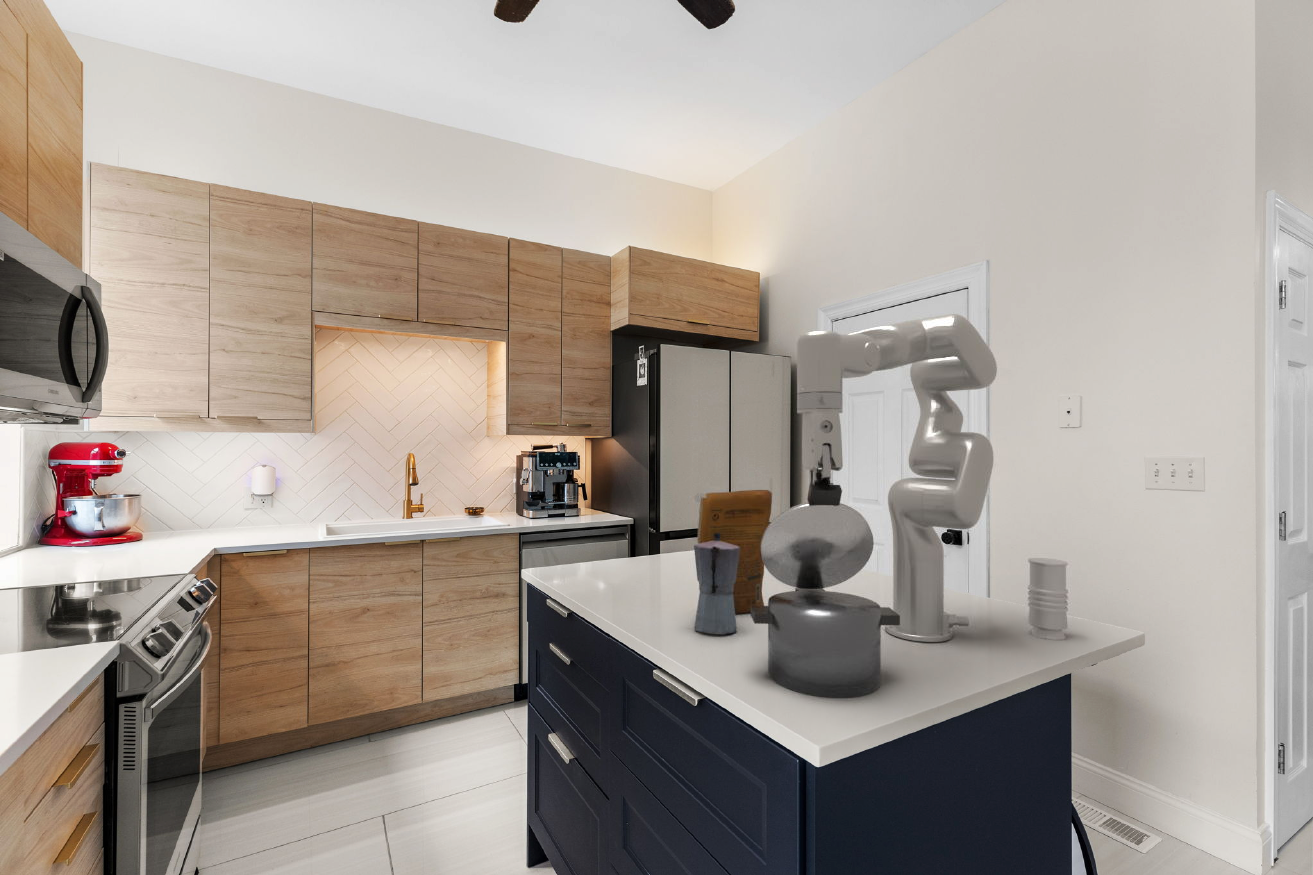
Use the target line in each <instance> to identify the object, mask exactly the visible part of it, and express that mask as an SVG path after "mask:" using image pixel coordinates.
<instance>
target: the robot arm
mask: <svg viewBox="0 0 1313 875" xmlns="http://www.w3.org/2000/svg"><path fill="white" fill-rule="evenodd" d="M907 365H910V369H909V370H910V371H909V375H910V376H909V377H910V381H911V384H912V387H913V390H914V393H915V396H916V399H917V401H918V402H917V403H918V404H919V408H920V410H919V411H920V414H919V419H918V422H917V426H916V430H915V433H914V436H913V440H912V443H911V447H910V450H909V454H908V467H909V469H910V471H911V472H913V474H915V475H918V476H919V477H908V478H907V477H906V478H901V479H899V480H896V482H893V484H892V485H891V487H890V488H889V491H888V494H887V505H888V511H889V516H890V521H891V530H892V557H893V559H892V560H893V561H892V562H893V563H892V564H893V565H892V568H893V570H892V572H893V574H892V575H893V576H892V578H893V581H892V585H893V586H892V587H893V588H892V592H893V593H892V599H893V600H892V602H893V604H892V606H893V607H892V610H893V611H895V612H896V613H897V614H898V615H900V625H884V630H885V631H886V632H887V633H888V634H889V635H890V636H891V635H892V636H894V637H896V638H899V639H904V640H908V641H912V642H913V641H914V642H920V643H921V642H922V643H941V642H946V641H949V640H951V639H952V637H953V631H952V628H953V627H954V626H956V627H957V626H958V627H969V625H970V620H969V617H968V616H963V615H962V616H960V615H958V616H957V614H953V613H952V614H949V613H947V612H946V611H944V610H945V609H944V608H945V606H944V605H945V604H944V603H945V602H944V600H945V599H944V598H945V596H944V595H945V594H944V592H945V590H944V586H945V584H944V583H945V582H944V581H945V580H944V578H945V577H944V576H945V575H944V574H945V573H944V571H945V570H944V566H945V565H944V563H945V562H944V559H945V558H944V556H945V554H944V546H943V542H942V540H941V538H940V537H939V535H938V533H937V532H936V530H935V529H934V527H935V528H945V529H954V530H968V529H971V528H973V527H975V526H976V525H977V524H978V521H980V517H981V516H982V511H983V510H984V504H985V500H986V496H987V492H988V489H989V488H988V487H989V484H990V480H991V476H992V472H993V467H994V451H993V450H994V449H993V446H992V443H991V441H990V440H989V438H988V437H987V436H985V435H984V434H981V433H978V432H971V431H970V432H969V431H967V432H966V431H965V432H964V431H963V432H962V429H963V424H964V415H963V412H962V410H961V409H960V407H959V406H958V404H957V403H956V402H955V401H954V400H953V399H952V398H951V397H950V396H949V394H948V392H953V391H954V392H955V391H956V392H957V391H958V392H959V391H973V390H982V389H985V388H988V387H989V386H991V385H992V384H993V382H994V381H995V379H996V377H997V372H998V367H997V366H998V365H997V361H996V358H995V356H994V353H993V352H992V351H991V349H990V347H989V346H988V344H987V343H986V341H985V340H984V338H983V337H982V335H980V333H979V331H978V330H977V328H976V327H975V326H974V325H973V324H972V323H971V321H969V320H968V319H967V318H966V317H964V316H963V315H961V314H958V313H949V314H944V315H937V316H931V317H925V318H917V319H914V320H913V319H912V320H907V321H901V322H896V323H889V324H885V325H880V326H876V327H871V328H866V329H864V330H860V331H857V332H852V333H848V334H840V333H838V332H836V331H831V330H815V331H808V332H804V333H802V334H801V335H799V337H798V339H797V343H796V380H797V381H796V385H797V386H796V390H797V391H796V393H797V395H796V396H797V398H796V399H797V400H796V406H797V410H796V412H797V414H800V415H801V414H802V431H801V432H802V438H801V440H802V442H801V443H802V444H801V446H802V447H801V449H802V450H801V451H802V452H801V453H802V454H801V456H802V458H801V459H802V465H803V467H804V468H805V469H806V470H808V472H809V473H808V474H809V477H808V478H809V485H831V479H832V471H835V472H836V471H837V472H840V471H841V470H842V469H843V464H844V463H843V443H842V441H843V440H842V427H841V426H842V425H841V418H840V414H842V413H843V411H844V410H843V406H844V405H843V400H844V399H843V379H852V378H861V377H864V376H865V377H866V376H868V375H870V374H872V373H873V372H880V371H887V370H892V369H896V368H897V369H898V368H899V367H903V366H907Z"/></svg>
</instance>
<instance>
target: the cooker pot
mask: <svg viewBox="0 0 1313 875" xmlns="http://www.w3.org/2000/svg"><path fill="white" fill-rule="evenodd" d="M794 589H795V590H792V591H791V590H790V591H784V592H780V593H776V594H773V595H771V596H770V597H769V598H768V600H767V603H768V604H767V605H764V606H751V613H750V617H751V619H752V622H753V623H754V624H757V625H758V624H760V625H764V624H765V625H767V673H768V676H769V678H770V679H771V680H772V681H773V682H774V683H776V684H777V685H779V686H780V687H783V688H785V689H787V690H790V691H792V692H796V693H799V694H804V695H809V696H812V697H820V698H829V699H848V698H851V699H852V698H858V697H863V696H866V695H870V694H872V693H874V692H876V691H878V690H879V688H880V687H881V685H882V681H881V680H882V679H881V678H882V676H881V674H882V672H881V670H882V668H881V667H882V665H881V664H882V663H881V662H882V661H881V660H882V658H881V657H882V655H881V654H882V651H881V648H882V645H881V644H882V642H881V641H882V638H881V637H882V634H881V633H882V632H881V631H882V628H881V627H882V626H885V625H900V615H898V614H897V613H896V612H895V611H893V608H891V607H888V606H886V607H885V606H884V607H882V606H881V605H880V604H878V603H877V602H876V601H873V600H872V599H869V598H866V597H864V596H859V595H855V594H850V593H845V592H837V591H830V590H828V591H827V590H825V588H820V589H802V588H796V587H794Z"/></svg>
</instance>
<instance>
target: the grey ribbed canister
mask: <svg viewBox="0 0 1313 875" xmlns="http://www.w3.org/2000/svg"><path fill="white" fill-rule="evenodd" d="M1027 560H1028V561H1027V562H1028V563H1029V585H1027V590H1028V592H1027V595H1028V597H1027V601H1028V602H1027V606H1028V607H1029V610H1028V622H1027V623H1028V624H1029V625H1030V626H1032V627H1033V628H1032V630H1031V631H1030V634H1031V635H1032V636H1034V637H1037V638H1040V639H1045V638H1046V639H1045V640H1053V641H1057V640H1059V641H1060V640H1061V641H1062V640H1064V638H1065V639H1066V636H1065V634H1064V632H1063V631H1064V630H1067V629H1068V627H1069V626H1068V618H1067V612H1068V611H1069V608H1068V605H1069V602H1068V600H1069V597H1068V593H1069V591H1068V589H1067V566H1068V565H1069V564H1068V562H1067V561H1065V560H1061V559H1055V558H1045V557H1032V558H1028V559H1027Z"/></svg>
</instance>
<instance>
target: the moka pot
mask: <svg viewBox="0 0 1313 875" xmlns="http://www.w3.org/2000/svg"><path fill="white" fill-rule="evenodd" d="M720 536H721V534H720V533H714V539H715V540H714V541H710V542H705V543H700V544H698V543H696V544H694V546H693V549H694V560H695V570H696V578H697V582H698V590H699V593H698V594H699V595H698V601H697V609H696V616H695V622H694V628H693V629H694V630H696V631H697V632H700V633H704V634H710V635H727V634H734V633H736V632H737V631H738V629H737V628H738V626H737V619H736V614H735V608H734V598H733V589H734V583H735V582H736V575H737V567H738V560H739V552H740V547H738V546H735V545H732V544H729V543H726V542H722V541H720Z"/></svg>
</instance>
